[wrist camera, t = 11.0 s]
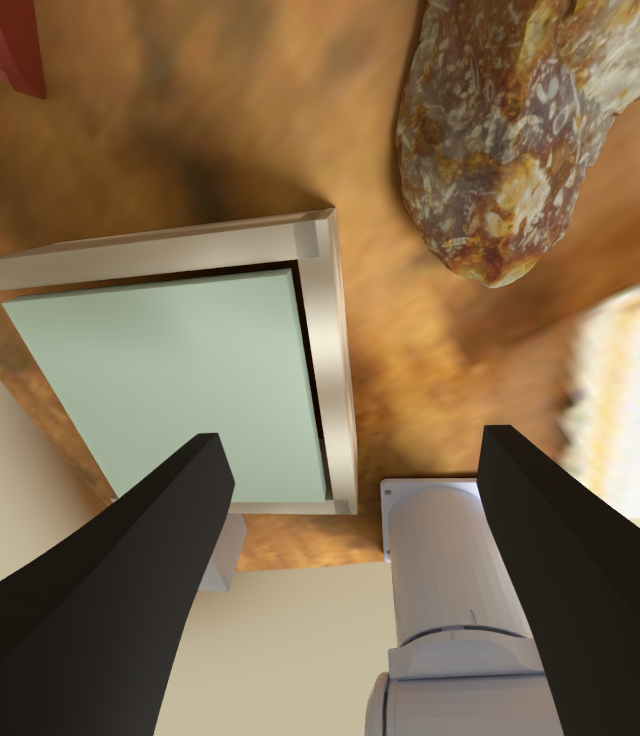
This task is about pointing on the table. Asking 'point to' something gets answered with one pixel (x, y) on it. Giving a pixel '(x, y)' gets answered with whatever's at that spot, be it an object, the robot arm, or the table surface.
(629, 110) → the table surface
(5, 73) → the dentures model
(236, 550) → the granite block
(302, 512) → the frame
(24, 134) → the table surface
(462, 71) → the decorative stone
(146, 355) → the trapdoor
